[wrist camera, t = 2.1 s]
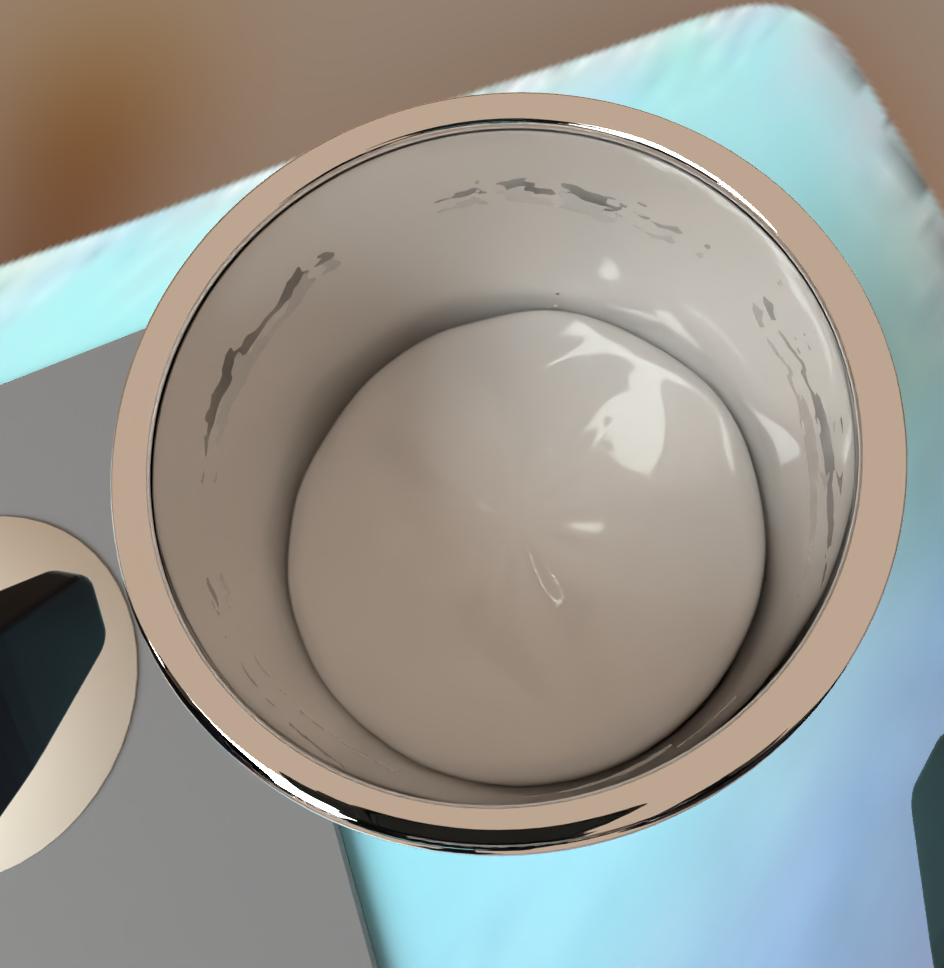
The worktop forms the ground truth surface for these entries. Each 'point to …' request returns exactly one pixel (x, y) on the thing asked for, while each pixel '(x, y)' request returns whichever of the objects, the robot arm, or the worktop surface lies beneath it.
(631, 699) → the beer glass
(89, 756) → the slate mat
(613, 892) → the worktop surface
